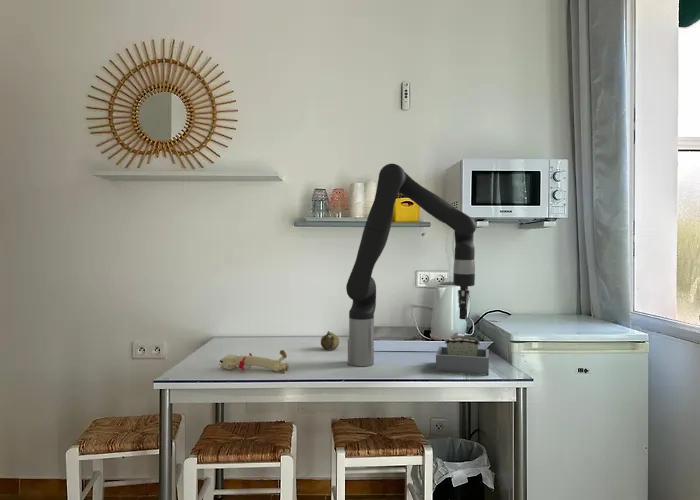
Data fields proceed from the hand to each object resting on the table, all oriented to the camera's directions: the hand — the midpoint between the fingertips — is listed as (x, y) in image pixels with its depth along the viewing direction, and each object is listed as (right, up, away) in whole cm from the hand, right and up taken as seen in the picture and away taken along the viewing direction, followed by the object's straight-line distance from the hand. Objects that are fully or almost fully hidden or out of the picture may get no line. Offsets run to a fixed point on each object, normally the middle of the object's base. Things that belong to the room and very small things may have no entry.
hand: (463, 317), depth 195 cm
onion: (-49, -18, +32) cm, 61 cm away
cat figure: (-75, -19, -1) cm, 78 cm away
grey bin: (0, -19, +1) cm, 19 cm away
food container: (0, -18, +2) cm, 18 cm away
